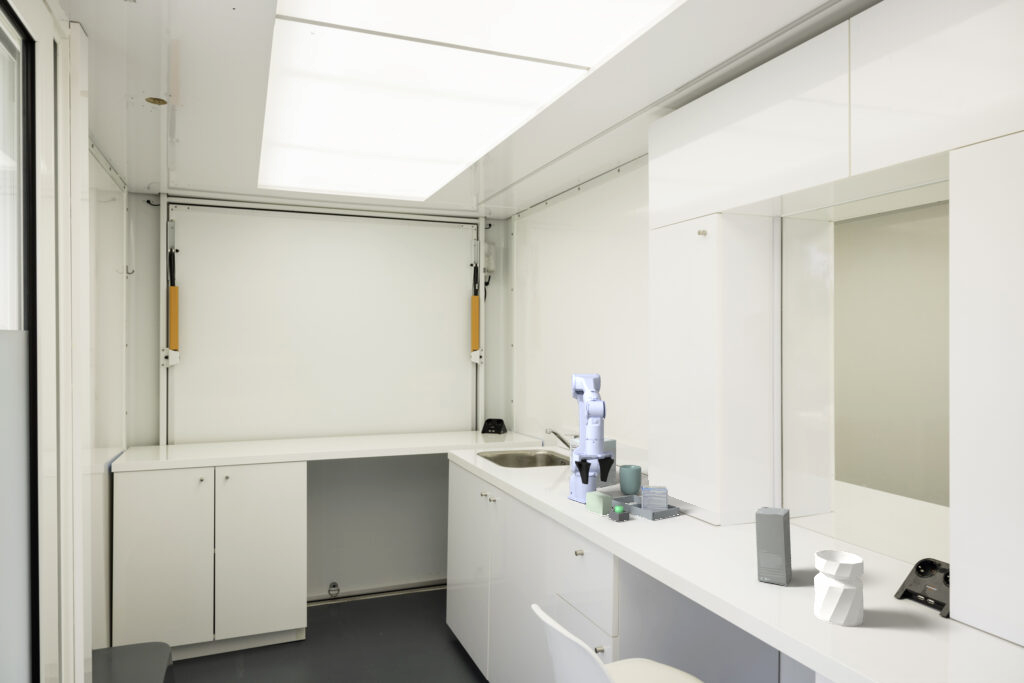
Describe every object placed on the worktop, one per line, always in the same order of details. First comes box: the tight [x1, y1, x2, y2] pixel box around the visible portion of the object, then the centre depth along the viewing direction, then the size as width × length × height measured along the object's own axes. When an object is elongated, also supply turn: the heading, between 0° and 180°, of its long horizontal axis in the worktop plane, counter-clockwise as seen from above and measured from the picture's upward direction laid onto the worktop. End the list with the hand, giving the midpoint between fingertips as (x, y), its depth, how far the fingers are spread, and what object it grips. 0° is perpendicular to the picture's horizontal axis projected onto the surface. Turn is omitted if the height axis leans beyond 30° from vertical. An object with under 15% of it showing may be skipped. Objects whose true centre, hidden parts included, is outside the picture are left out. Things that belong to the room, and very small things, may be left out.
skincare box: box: [754, 506, 793, 587], centre depth 147 cm, size 8×7×16 cm
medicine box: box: [640, 485, 669, 512], centre depth 204 cm, size 8×4×9 cm, turn 84°
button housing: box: [608, 509, 630, 522], centre depth 197 cm, size 4×4×2 cm
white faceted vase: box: [813, 549, 865, 627], centre depth 126 cm, size 9×9×12 cm
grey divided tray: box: [612, 494, 680, 521], centre depth 208 cm, size 21×12×2 cm, turn 33°
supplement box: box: [569, 437, 617, 489], centre depth 249 cm, size 13×13×18 cm
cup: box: [618, 464, 642, 496], centre depth 231 cm, size 8×8×10 cm
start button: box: [614, 505, 623, 513], centre depth 197 cm, size 3×3×3 cm
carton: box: [585, 490, 613, 515], centre depth 205 cm, size 8×4×6 cm, turn 33°
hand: (594, 482), depth 200 cm, fingers open, 7 cm apart
